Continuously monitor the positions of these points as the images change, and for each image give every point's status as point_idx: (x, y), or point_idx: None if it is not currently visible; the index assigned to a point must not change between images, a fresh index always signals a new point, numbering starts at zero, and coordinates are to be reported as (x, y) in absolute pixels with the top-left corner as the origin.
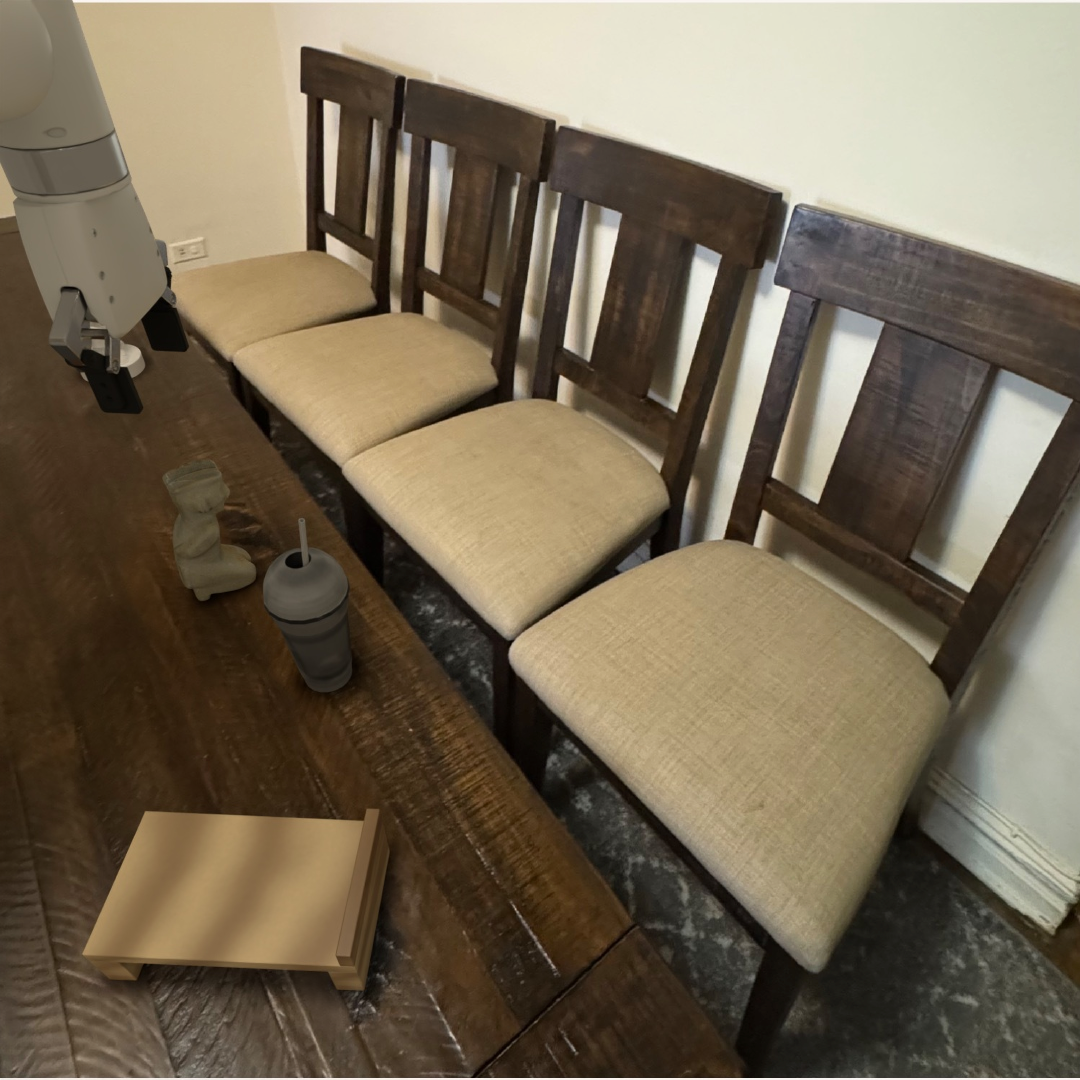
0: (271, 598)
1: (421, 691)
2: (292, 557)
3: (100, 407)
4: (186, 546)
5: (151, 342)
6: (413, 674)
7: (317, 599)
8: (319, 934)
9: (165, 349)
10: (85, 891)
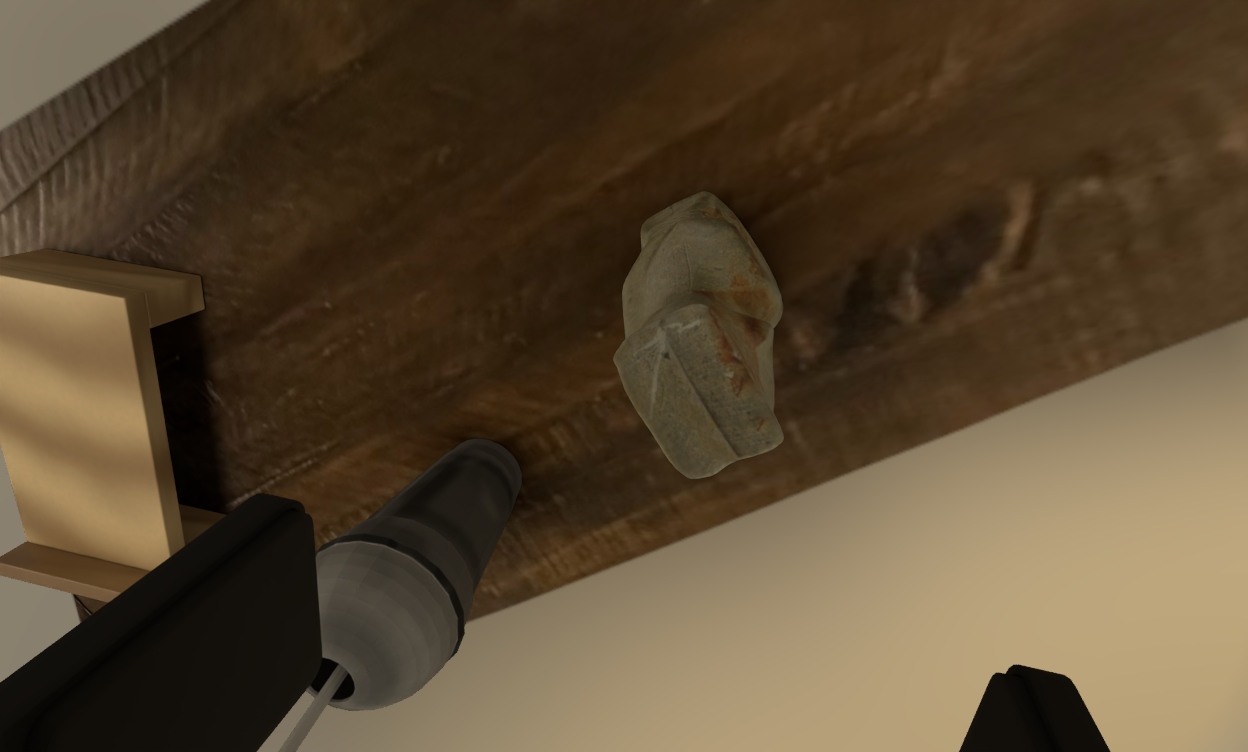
0: None
1: None
2: (429, 613)
3: (246, 502)
4: (633, 284)
5: (1014, 731)
6: (485, 587)
7: None
8: (45, 523)
9: (973, 745)
10: (123, 182)
